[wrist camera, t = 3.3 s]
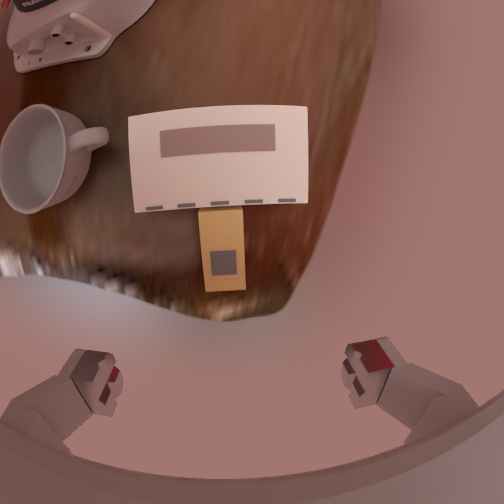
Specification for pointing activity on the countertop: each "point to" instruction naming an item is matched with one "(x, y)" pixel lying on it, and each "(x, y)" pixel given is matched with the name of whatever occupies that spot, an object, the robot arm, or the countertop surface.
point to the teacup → (45, 157)
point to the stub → (222, 247)
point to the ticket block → (219, 157)
